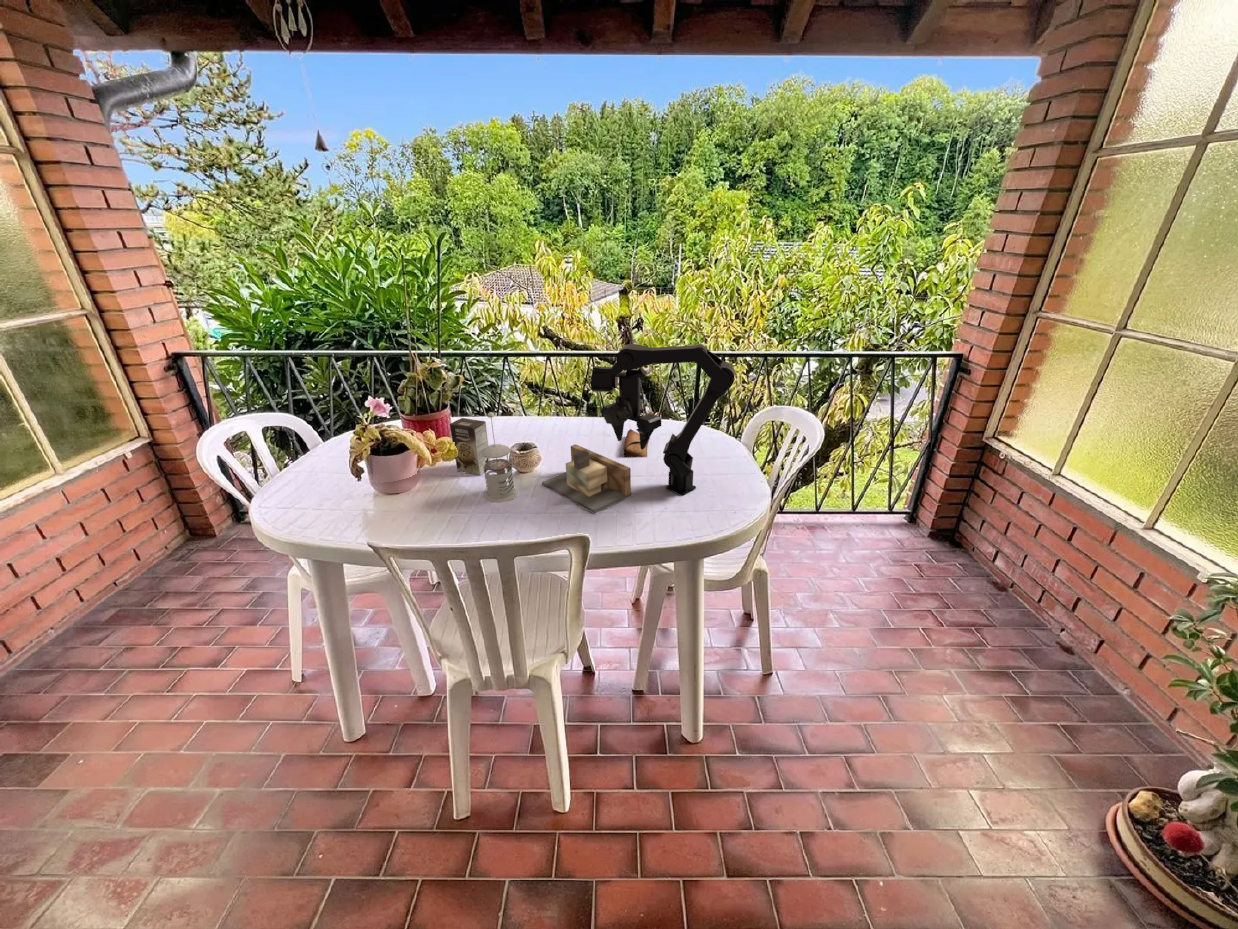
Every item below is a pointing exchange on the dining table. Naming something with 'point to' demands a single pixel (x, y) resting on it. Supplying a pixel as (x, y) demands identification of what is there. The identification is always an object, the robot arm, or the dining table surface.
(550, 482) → the wall board
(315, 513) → the dining table surface
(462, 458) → the coffee box
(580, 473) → the wooden block
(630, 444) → the sunglasses case
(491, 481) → the french press
